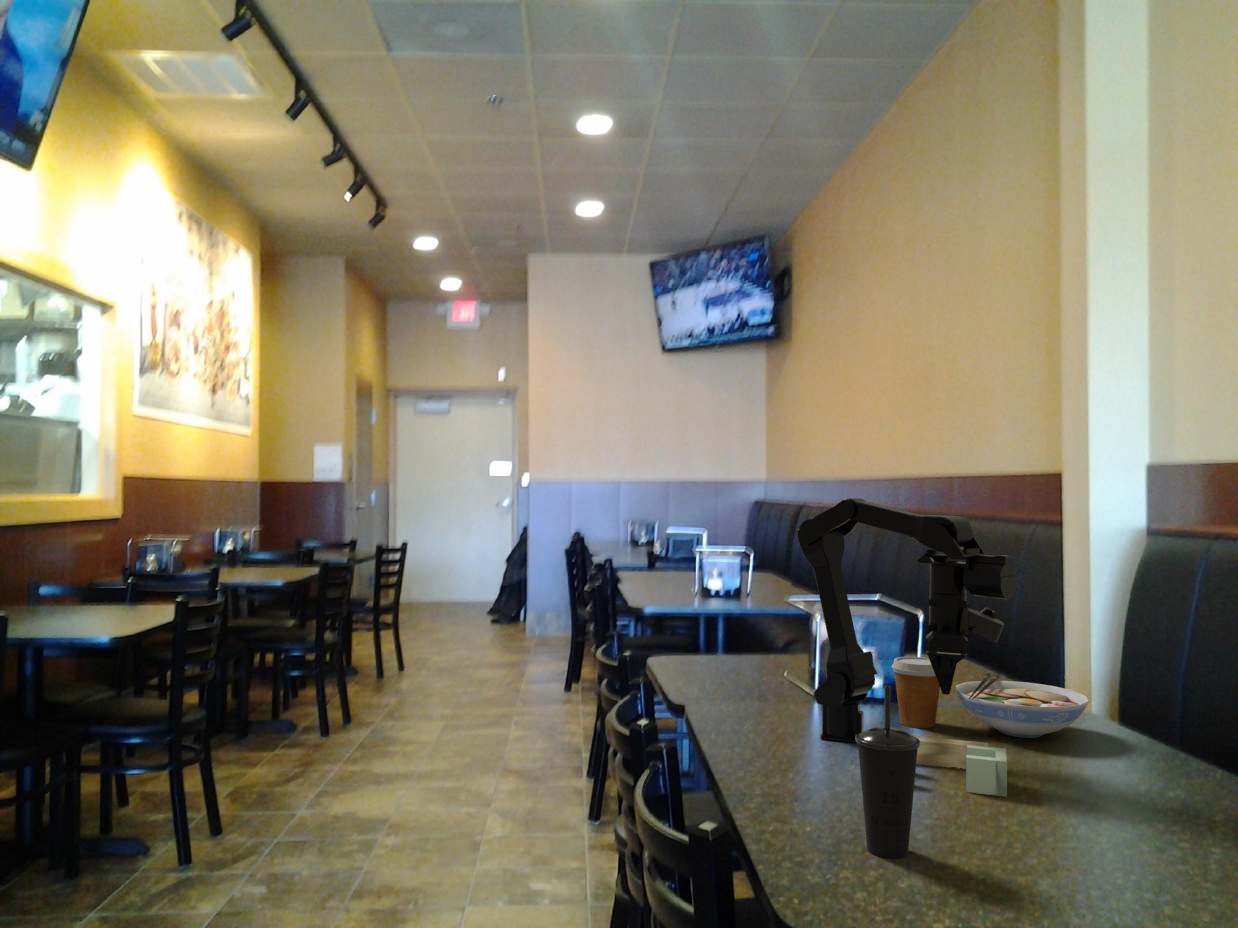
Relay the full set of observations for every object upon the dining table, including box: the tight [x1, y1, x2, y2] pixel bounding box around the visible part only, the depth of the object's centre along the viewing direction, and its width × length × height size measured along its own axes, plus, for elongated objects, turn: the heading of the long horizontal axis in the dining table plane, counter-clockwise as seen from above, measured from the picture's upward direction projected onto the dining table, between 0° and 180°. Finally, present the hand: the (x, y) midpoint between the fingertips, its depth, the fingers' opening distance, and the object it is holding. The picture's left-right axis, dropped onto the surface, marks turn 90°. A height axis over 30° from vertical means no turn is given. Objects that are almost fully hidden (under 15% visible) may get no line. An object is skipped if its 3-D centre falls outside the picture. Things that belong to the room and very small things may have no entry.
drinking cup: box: [855, 685, 920, 859], centre depth 115 cm, size 8×8×20 cm
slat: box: [913, 735, 989, 770], centre depth 152 cm, size 15×3×4 cm, turn 70°
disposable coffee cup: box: [891, 656, 941, 729], centre depth 178 cm, size 10×10×12 cm
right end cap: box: [965, 745, 1008, 798], centre depth 140 cm, size 6×8×5 cm
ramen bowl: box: [955, 672, 1090, 739], centre depth 173 cm, size 25×23×8 cm
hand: (946, 688), depth 153 cm, fingers open, 9 cm apart
